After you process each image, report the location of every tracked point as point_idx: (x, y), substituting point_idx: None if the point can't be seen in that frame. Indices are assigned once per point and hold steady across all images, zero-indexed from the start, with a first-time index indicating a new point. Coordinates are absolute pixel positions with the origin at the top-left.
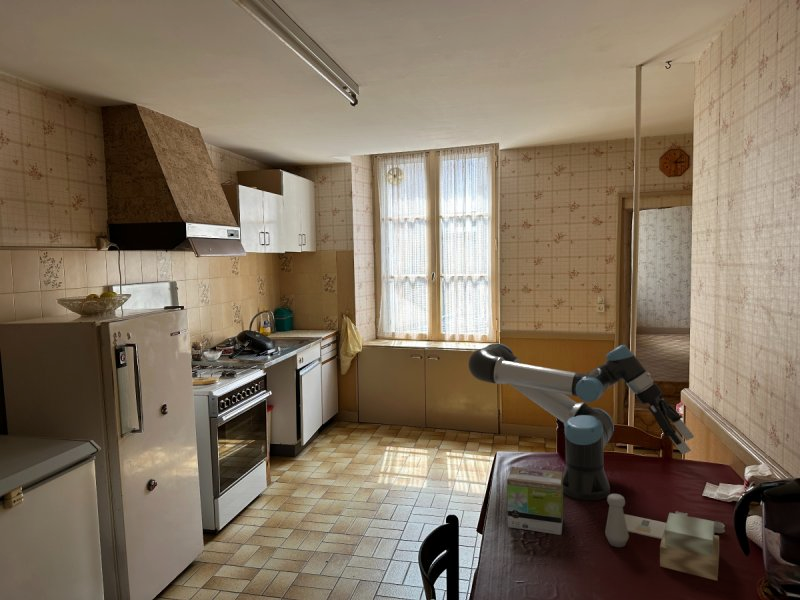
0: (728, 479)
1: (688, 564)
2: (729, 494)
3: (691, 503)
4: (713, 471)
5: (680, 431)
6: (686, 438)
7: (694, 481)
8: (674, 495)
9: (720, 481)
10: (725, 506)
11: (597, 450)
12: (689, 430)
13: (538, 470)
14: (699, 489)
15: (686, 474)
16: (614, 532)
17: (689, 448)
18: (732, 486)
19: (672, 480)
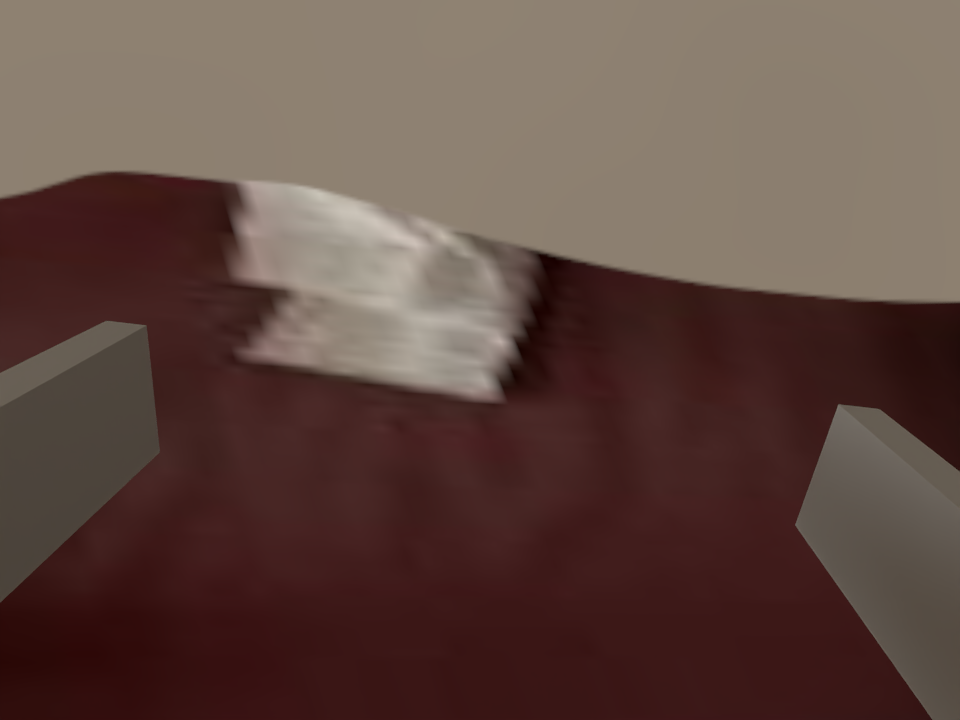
0: (165, 222)
1: None
2: (419, 242)
3: (654, 470)
4: (32, 297)
5: (36, 548)
6: (139, 447)
7: (260, 432)
8: (566, 578)
9: (214, 271)
10: (613, 281)
11: None
12: (26, 369)
13: None
14: (398, 408)
15: (133, 481)
16: None
17: (879, 422)
18: (282, 213)
19: (284, 588)
